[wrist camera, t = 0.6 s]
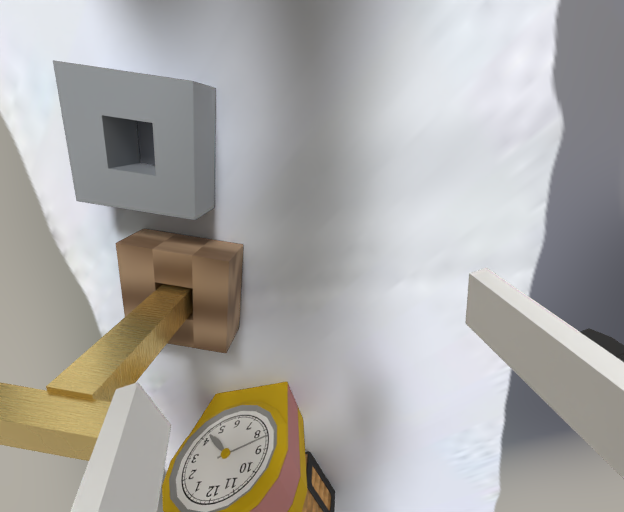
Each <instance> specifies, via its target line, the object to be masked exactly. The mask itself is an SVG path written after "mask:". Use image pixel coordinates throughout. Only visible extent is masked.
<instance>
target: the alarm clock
mask: <svg viewBox="0 0 624 512" xmlns="http://www.w3.org/2000/svg"><path fill="white" fill-rule="evenodd" d="M306 493H307V476H306V459H305V443H304V426H303V418H302V415H301V413H300V411H299V408H298V406H297V404H296V401H295V399H294V397H293V394H292V392H291V390H290V387H289V385H288V383H287V382H282V383H277V384H271V385H265V386H259V387H253V388H247V389H242V390H236V391H230V392H224V393H218V394H215V396H214V397H213V399H212V401H211V402H210V404H209V405H208V407H207V408H206V410H205V411H204V413H203V414H202V416H201V418H200V419H199V421H198V422H197V424H196V425H195V427H194V428H193V430H192V432H191V433H190V435H189V436H188V437H187V438H186V439H185V441H184V442H183V444H182V445H181V446H180V448H179V449H178V451H177V452H176V454H175V455H174V457H173V458H172V460H171V462H170V465H169V468H168V471H167V474H166V476H165V480H164V482H163V485H162V494H163V511H164V512H302V509H303V505H304V501H305V497H306Z"/></svg>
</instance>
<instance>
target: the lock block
mask: <svg viewBox="0 0 624 512" xmlns="http://www.w3.org/2000/svg"><path fill="white" fill-rule="evenodd" d="M116 250H117V258H118V266H119V274H120V282H121V290H122V298H123V306H124V314H125V317H126V316H127V315H128V314H129V313H130V312H132V311H133V310H134V309H135V308H136V307H137V306H138V305H140V304H141V303H142V302H143V301H144V300H145V299H146V298H147V297H149V296H150V295H151V294H152V293H153V292H154V291H155V290H157V289H158V288H159V287H160V286H161V285H162V284H169V285H175V286H181V287H187V288H193V312H192V313H191V314H190V315H189V317H188V318H187V319H186V320H185V322H184V323H183V324H182V325H181V327H180V328H179V329H178V330H177V332H176V333H175V334H174V335H173V336H172V338H171V339H170V340H169V341H168V344H174V345H180V346H186V347H192V348H198V349H203V350H209V351H215V352H221V353H227V351H228V349H229V347H230V345H231V343H232V341H233V339H234V337H235V335H236V333H237V331H238V329H239V319H240V300H241V281H242V262H243V244H237V243H231V242H224V241H218V240H212V239H206V238H200V237H194V236H187V235H181V234H175V233H169V232H163V231H156V230H150V229H142V230H140V231H138V232H136V233H134V234H132V235H131V236H129V237H127V238H125V239H123V240H121V241H119V242H117V243H116Z"/></svg>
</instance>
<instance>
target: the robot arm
mask: <svg viewBox="0 0 624 512" xmlns="http://www.w3.org/2000/svg"><path fill="white" fill-rule="evenodd" d="M466 324H467V325H468V326H469V327H470V328H471V329H472V330H473V331H474V332H475V333H476V334H477V335H478V336H479V337H480V338H481V339H482V340H483V341H484V342H485V343H486V344H487V345H488V346H489V347H490V348H491V349H492V350H493V351H494V352H495V353H496V354H497V355H498V356H499V357H500V358H501V359H502V360H503V361H504V362H505V363H506V364H507V365H508V366H509V367H510V368H511V369H512V370H513V371H514V372H515V373H517V374H518V375H519V376H520V377H521V378H522V379H523V380H524V381H525V382H526V383H527V384H528V385H529V386H530V387H531V388H532V389H533V390H534V391H535V392H536V393H537V394H538V395H539V396H540V397H541V398H542V399H543V400H544V401H545V402H546V403H547V404H548V405H549V406H550V407H551V408H552V409H553V410H554V411H555V412H556V413H557V414H558V415H559V416H560V417H561V418H562V419H563V420H564V421H565V422H566V423H567V424H568V425H569V426H570V427H572V429H573V430H575V432H577V433H578V434H579V435H580V436H581V437H582V438H583V439H584V440H585V441H586V442H587V443H588V444H589V445H590V446H591V447H592V448H593V449H594V450H595V451H596V452H597V453H598V454H599V455H600V456H601V457H602V458H603V459H604V460H605V461H606V462H607V463H608V464H609V465H610V466H611V467H612V468H613V469H614V470H615V471H616V472H617V473H618V474H619V475H620V476H621V477H622V478H624V345H622V344H621V343H619V342H618V341H616V340H615V339H613V338H612V337H609V336H607V335H604V334H602V333H599V332H596V331H594V330H592V329H586V330H583V331H581V332H579V331H577V330H576V329H575V328H573V327H572V326H570V325H569V324H567V323H566V322H564V321H563V320H561V319H560V318H559V317H557V316H556V315H554V314H553V313H551V312H550V311H549V310H547V309H545V308H544V307H543V306H541V305H540V304H538V303H537V302H535V301H534V300H533V299H531V298H530V297H528V296H527V295H525V294H524V293H522V292H521V291H520V290H518V289H517V288H515V287H514V286H512V285H511V284H509V283H508V282H506V281H505V280H504V279H502V278H501V277H499V276H498V275H496V274H495V273H493V272H492V271H490V270H489V269H488V268H484V269H481V270H478V271H475V272H472V273H469V284H468V297H467V310H466ZM170 430H171V424H170V423H169V422H168V420H167V419H166V418H165V417H164V415H163V414H162V413H161V411H160V410H159V409H158V408H157V406H156V405H155V404H154V402H153V401H152V400H151V399H150V397H149V396H148V395H147V393H146V392H145V391H144V389H143V388H142V387H141V386H140V384H139V383H138V382H137V383H134V384H131V385H128V386H124V387H121V388H118V389H116V390H115V393H114V396H113V398H112V401H111V404H110V406H109V409H108V412H107V415H106V417H105V420H104V423H103V425H102V428H101V431H100V433H99V436H98V439H97V441H96V444H95V447H94V449H93V452H92V455H91V458H90V460H89V463H88V466H87V468H86V471H85V474H84V476H83V479H82V482H81V485H80V487H79V490H78V493H77V495H76V498H75V501H74V503H73V506H72V509H71V511H70V512H157V508H158V501H159V496H160V490H161V484H162V478H163V472H164V466H165V460H166V454H167V448H168V442H169V436H170Z"/></svg>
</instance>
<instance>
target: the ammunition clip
mask: <svg viewBox="0 0 624 512" xmlns="http://www.w3.org/2000/svg"><path fill="white" fill-rule="evenodd" d="M305 459H306V476H307V493H306V497H305V501H304V505H303V509H302V512H334V506H335V491H334V489H333V488H332V486H331V484H330V483H329V481H328V480H327V478H326V476H325V475H324V473H323V472H322V470H321V468H320V467H319V465H318V464H317V462H316V461H315V459H314V457H313V456H312V454H311V453H310V452H306V453H305Z"/></svg>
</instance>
